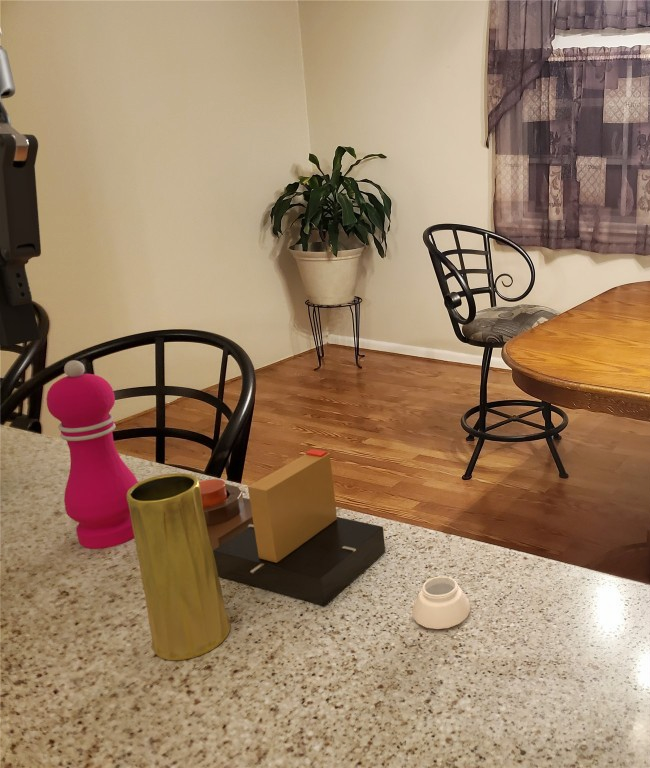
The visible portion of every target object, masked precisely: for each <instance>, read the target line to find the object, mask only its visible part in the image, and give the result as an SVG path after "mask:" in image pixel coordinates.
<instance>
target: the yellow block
mask: <svg viewBox="0 0 650 768" xmlns="http://www.w3.org/2000/svg"><path fill="white" fill-rule="evenodd" d="M333 478H334V477H333V471H332V461H331V452H328V451H326V450H321V449H315V448H311V449H309V450H308V451H306V452H305V454H304V455H301V456H300V457H298V458H296V459H294V460H293V461H290V462H289V463H287V464H285V465H284V466H282V467H280V468H278V469H277V470H274V471H273V472H271V473H269V474H268V475H266V476H264V477H262V478H261V479H258V480H256V481H255V482H254V483H252V484H250V485H248V486H247V491H248V496H249V499H250V504H251V510H252V517H253V523H254V530H255V536H256V543H257V549H258V556H259V558H260V559H264V560H268V561H271V562H275V563H277V562H279V561H280V560H281V559H283V558H284V557H286V556H287V555H288V554H290V553H291V552H292V551H294V550H295V549H297V548H298V547H299V546H301V545H302V544H303V543H305V542H306V541H308V540H309V539H310V538H312V537H313V536H314V535H316V534H317V533H319V532H320V531H321V530H323V529H324V528H325V527H327V526H328V525H330V524H331V523H332V522H334V521H335V520H336V519H337V517H338V515H337V513H338V512H337V513H336V509H337V505H336V496H335V488H334V479H333Z"/></svg>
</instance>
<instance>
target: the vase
mask: <svg viewBox="0 0 650 768" xmlns="http://www.w3.org/2000/svg"><path fill="white" fill-rule="evenodd" d="M199 482H200V481H199V479H198V477H196V476H195V475H193V474H190V473H183V472H175V473H166V474H165V473H164V474H160V475H157V476H152V477H148V478H146V479H143V480H141V481H138V483H137V484H135V485H134V486H133V487H131V488H130V489H129V490H128V492H127V502H128V505H129V510H130V515H131V521H132V527H133V532H134V542H135V548H136V554H137V559H138V565H139V571H140V577H141V582H142V588H143V592H144V593H143V594H144V599H145V603H146V610H147V617H148V623H149V629H150V635H151V648H152V651H153V652H154V654H155V655H156V656H157V657H158V658H160V659H163V660H167V661H187V660H190V659H194V658H197V657H200V656H202V655H205V654H207V653H210V652H211V651H212V650H214V649H215V648H218V647H219V646H220V645H221V644H222V643H223V642H224V641H225V639H227V637H228V635H229V633H230V631H231V622H230V619H229V617H228V615H227V612H226V606H225V601H224V596H223V591H222V586H221V582H220V578H219V577H218V572H217V567H216V562H215V558H214V553H213V549H212V546H211V543H210V539H209V536H208V532H207V526H206V520H205V515H204V510H203V505H202V498H201V489H200V484H199Z"/></svg>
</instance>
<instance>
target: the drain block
mask: <svg viewBox="0 0 650 768" xmlns="http://www.w3.org/2000/svg"><path fill="white" fill-rule="evenodd" d="M225 486H226V492H227V499H226V500H224V501H222V502H221V503H218V504H214V505H211V506H204V507H203V510H204V515H205V520H206V526H207V532H208V536H209V539H210V543H211V546H212V549H213V550H214V549H216V548H218V547H219V546H221V545H222V544H224V543H225V542H227V541H228V540H230V539H232V538H233V537H235V536H236V535H238V534H239V533H241V532H242V531H244V530H246V529H247V528H249V527H248V525H250V524H252V525H253V524H254V523H253V517H252V510H251V504H250V498H247V497H243V491H242V490H241V489H240V488H239V487H238V486H237V485H231V484H227V483H225Z"/></svg>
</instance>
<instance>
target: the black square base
mask: <svg viewBox="0 0 650 768" xmlns="http://www.w3.org/2000/svg"><path fill="white" fill-rule="evenodd" d="M341 510H343V508H342V507H341V506H339V507H336V513H338V512H340V511H341ZM248 527H249V528H247V529H246V530H244V531H242V532H241V533H239V534H238V535H236V536H235V537H233V538H232V539H230V540H228V541H227V542H225V543H224V544H222V545H221V546H219V547H218V548H216V549H214V550H213V553H214V558H215V562H216V567H217V572H218V577H219V579H223V580H227V581H231V582H233V583H234V582H235V583H237V584H241V585H244V586H249V587H252V588H256V589H259V590H261V591H266V592H270V593H273V594H277V595H281V596H284V597H288V598H292V599H296V600H298V601H301V602H302V601H303V602H306V603H309V604H313V605H316V606H320V607H326V606H328V604H329V603H331V601H333V600H334V599H335V598H336V597H337V596H339V594H340V593H342V592H343V591H344V590H345V589H346V588H347V587H349V586H350V585H351V584H352V583H353V582H354V581H355V580H357V578H358V577H360V575H362V574H363V573H364V572H365V571H366V570H367V569H369V568H370V567H371V566H372V565H373V564H375V562H376V561H377V560H379V558H381V557H382V556H383V555H384V554H385V553H386V544H385V533H384V526H381V525H376V524H373V523H369V522H363V521H358V520H354V519H348V518H344V517H340V516H337V519H336V520H335V521H334V522H332V523H331V524H330V525H328V526H327V527H325V528H324V529H323V530H321V531H320V532H319V533H317V534H316V535H314V536H313V537H312V538H310V539H309V540H308V541H306V542H305V543H303V544H302V545H301V546H299V547H298V548H297V549H295V550H294V551H292V552H291V553H290V554H288V555H287V556H286V557H284V558H283V559H281V560H280V561H279V562H277V563H275V562H271V561H268V560H264V559H260V558H259V556H258V549H257V543H256V536H255V530H254V524H253V525H252V524H250V525H248Z"/></svg>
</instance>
